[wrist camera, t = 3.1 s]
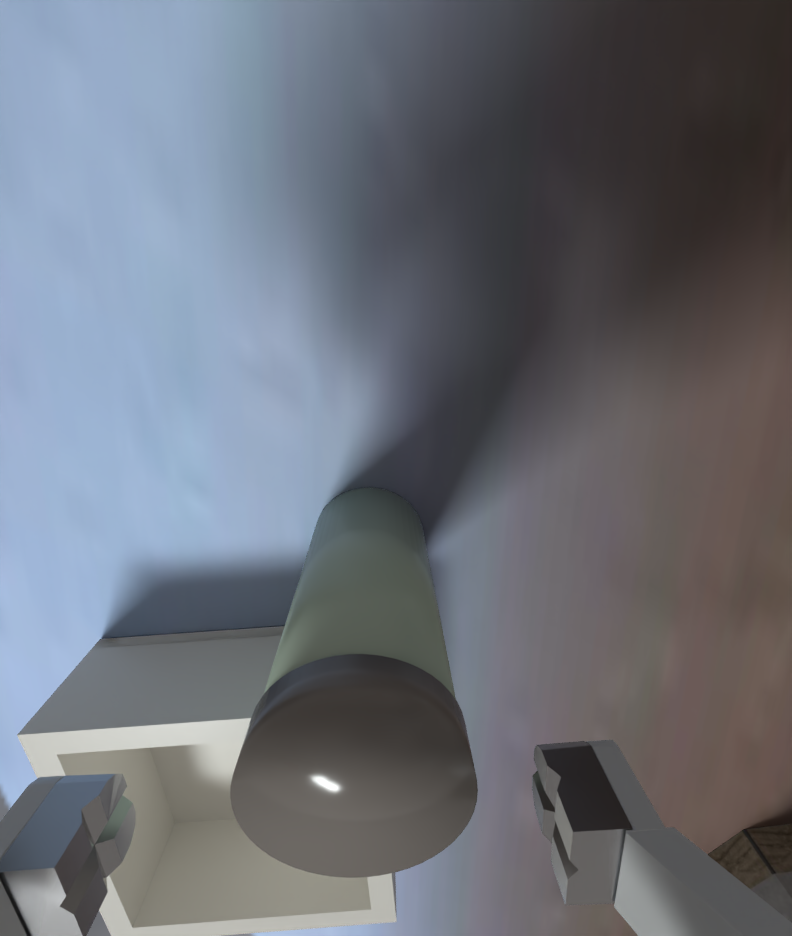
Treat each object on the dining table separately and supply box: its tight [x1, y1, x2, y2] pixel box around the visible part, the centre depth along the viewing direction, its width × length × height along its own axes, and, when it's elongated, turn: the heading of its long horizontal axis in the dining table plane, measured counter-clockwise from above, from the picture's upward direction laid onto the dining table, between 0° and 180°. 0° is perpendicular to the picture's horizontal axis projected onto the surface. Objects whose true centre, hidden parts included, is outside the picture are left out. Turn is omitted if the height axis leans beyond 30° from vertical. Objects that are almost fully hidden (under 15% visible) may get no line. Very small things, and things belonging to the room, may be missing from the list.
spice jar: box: [230, 488, 478, 878], centre depth 13 cm, size 5×5×10 cm
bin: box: [17, 626, 396, 936], centre depth 19 cm, size 12×12×5 cm
